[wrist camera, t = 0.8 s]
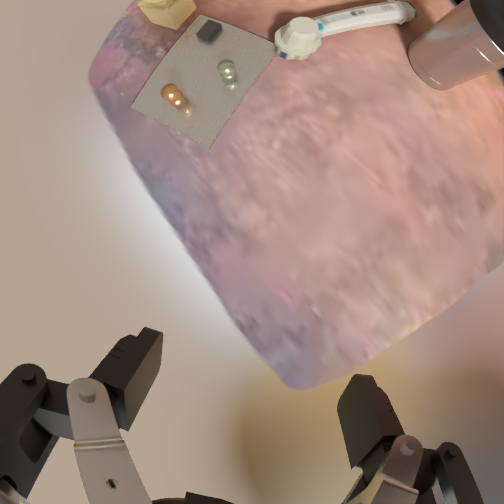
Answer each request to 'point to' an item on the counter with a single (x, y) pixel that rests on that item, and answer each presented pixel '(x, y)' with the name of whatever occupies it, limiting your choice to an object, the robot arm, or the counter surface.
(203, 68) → the plate
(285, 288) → the counter surface
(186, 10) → the cube with dome bump
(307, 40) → the white handheld device
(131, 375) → the robot arm
